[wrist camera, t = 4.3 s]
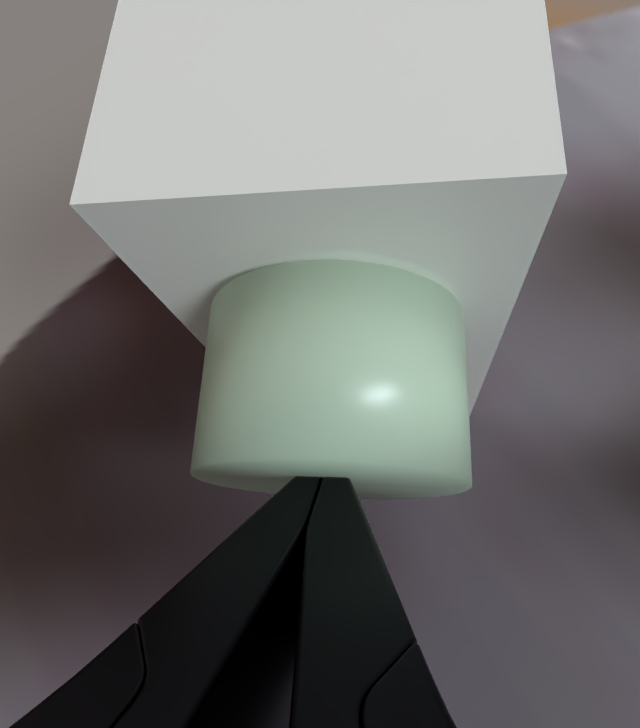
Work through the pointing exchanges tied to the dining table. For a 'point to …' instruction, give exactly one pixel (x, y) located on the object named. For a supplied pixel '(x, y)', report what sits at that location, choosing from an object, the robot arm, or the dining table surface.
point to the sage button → (335, 382)
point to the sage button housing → (326, 146)
